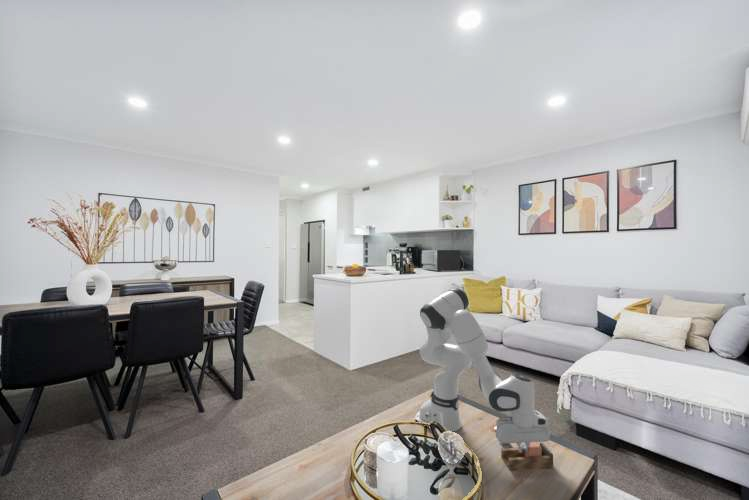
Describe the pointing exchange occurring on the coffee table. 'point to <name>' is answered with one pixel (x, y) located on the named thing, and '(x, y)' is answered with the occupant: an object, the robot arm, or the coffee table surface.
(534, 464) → the brown wooden open box
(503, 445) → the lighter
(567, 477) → the coffee table surface
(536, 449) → the block
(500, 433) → the robot arm
